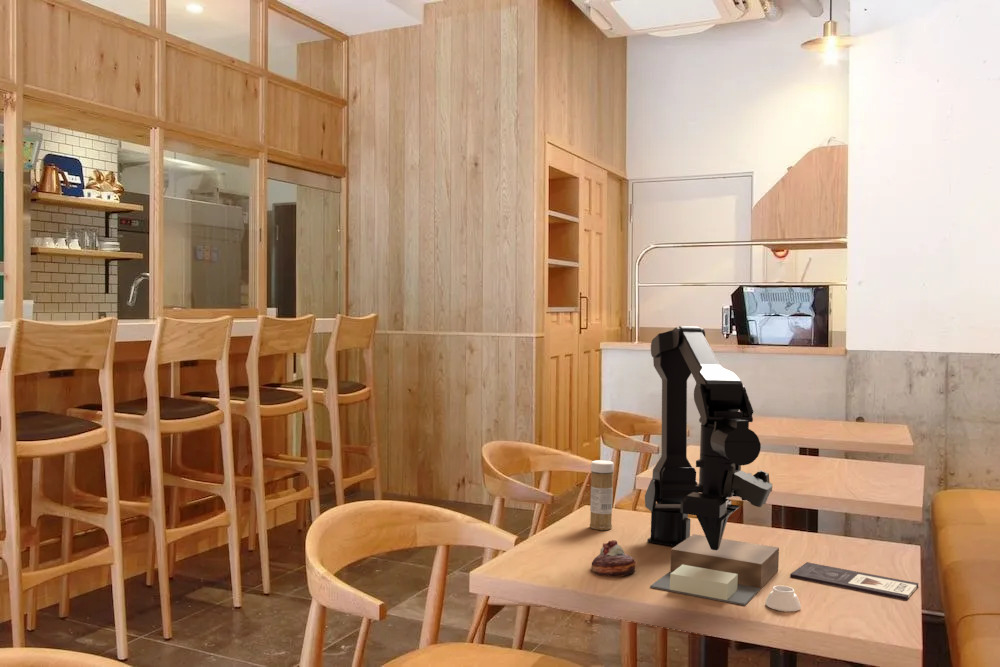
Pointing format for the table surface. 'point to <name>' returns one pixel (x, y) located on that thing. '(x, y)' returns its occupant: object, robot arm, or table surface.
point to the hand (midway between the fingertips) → (714, 549)
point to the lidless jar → (783, 599)
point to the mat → (738, 597)
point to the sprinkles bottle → (601, 494)
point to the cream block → (704, 582)
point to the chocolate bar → (855, 580)
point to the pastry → (613, 561)
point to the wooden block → (729, 559)
